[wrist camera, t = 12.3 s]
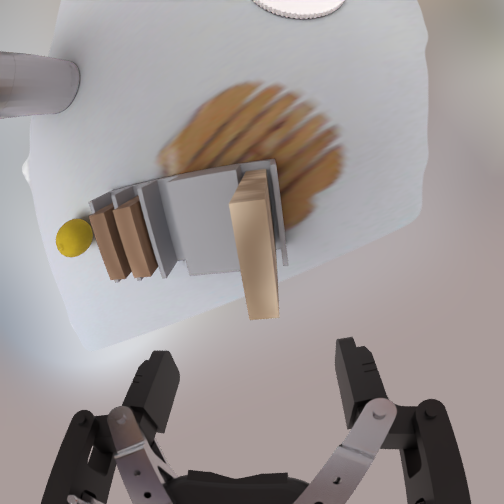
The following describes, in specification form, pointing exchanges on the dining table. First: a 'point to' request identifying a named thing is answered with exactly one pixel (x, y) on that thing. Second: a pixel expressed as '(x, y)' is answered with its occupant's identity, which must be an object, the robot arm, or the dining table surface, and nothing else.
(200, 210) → the rack
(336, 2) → the plastic lid
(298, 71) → the dining table surface
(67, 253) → the lemon
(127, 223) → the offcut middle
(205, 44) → the dining table surface
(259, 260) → the wooden block
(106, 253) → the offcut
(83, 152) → the dining table surface
